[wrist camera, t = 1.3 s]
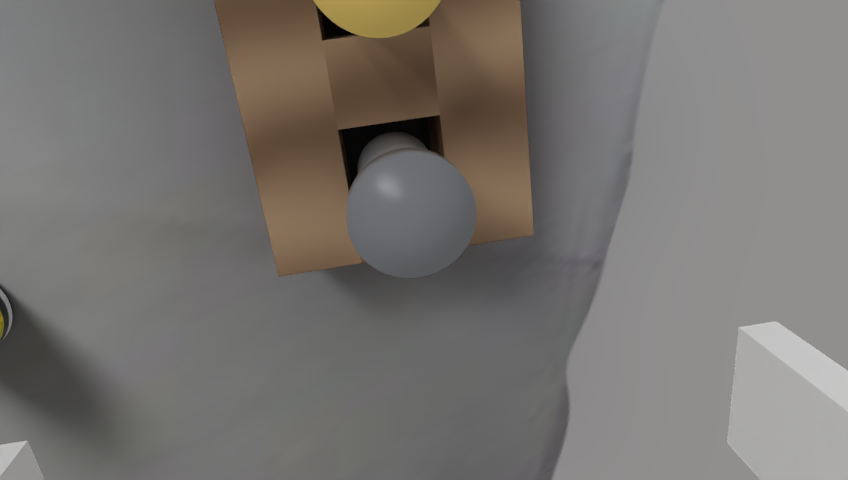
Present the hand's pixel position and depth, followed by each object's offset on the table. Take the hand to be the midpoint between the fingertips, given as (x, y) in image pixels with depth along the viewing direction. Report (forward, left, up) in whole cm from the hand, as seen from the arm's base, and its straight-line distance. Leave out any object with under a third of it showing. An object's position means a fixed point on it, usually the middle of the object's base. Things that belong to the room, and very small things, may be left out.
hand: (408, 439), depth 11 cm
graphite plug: (-1, +1, -17) cm, 17 cm away
